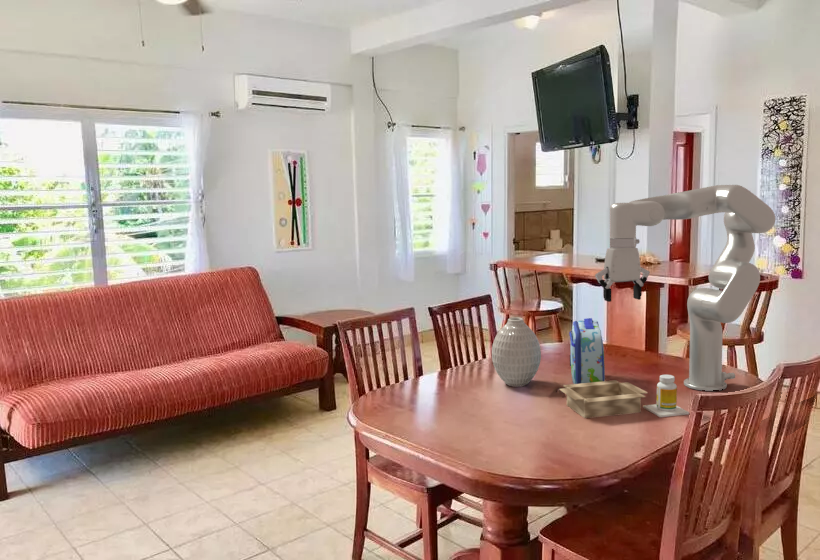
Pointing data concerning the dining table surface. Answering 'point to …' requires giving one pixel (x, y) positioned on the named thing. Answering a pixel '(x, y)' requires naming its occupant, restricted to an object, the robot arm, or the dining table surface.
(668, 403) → the supplement bottle
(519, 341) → the vase
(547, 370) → the dining table surface
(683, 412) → the coaster
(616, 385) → the carton
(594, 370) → the lunch box
